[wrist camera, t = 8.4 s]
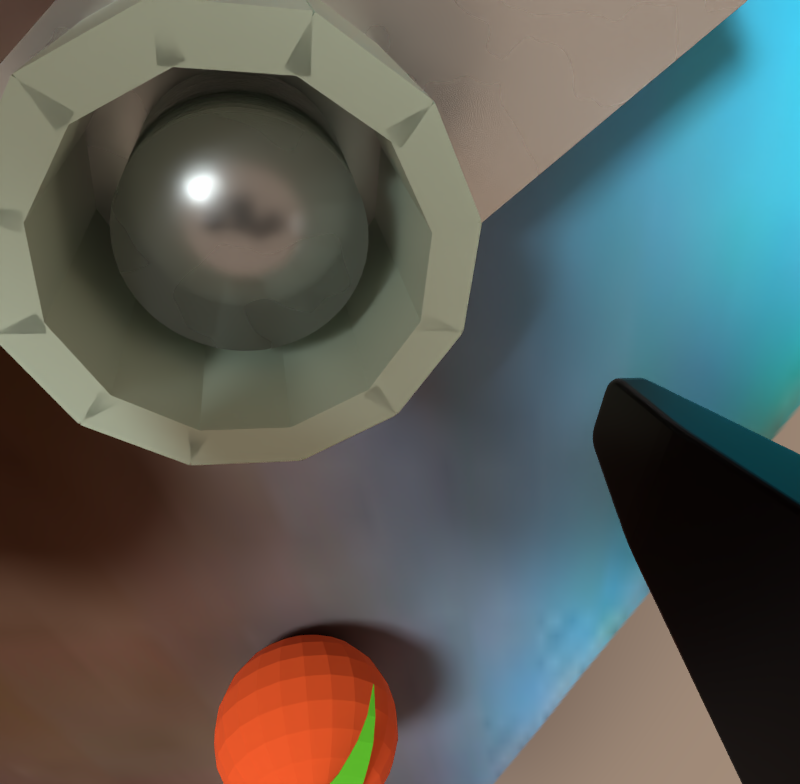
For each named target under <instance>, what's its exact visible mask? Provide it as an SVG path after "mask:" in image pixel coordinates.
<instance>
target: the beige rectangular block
mask: <svg viewBox="0 0 800 784" xmlns="http://www.w3.org/2000/svg"><path fill="white" fill-rule="evenodd" d="M114 1H116V0H55V1H54V2H53V4H52V5H51V6H50V7H49V8H48V9H47V10H46V12H45V13H44V14H43V15H42V16H41V17H40V19H39V20H38V21H37V22H36V23H35V24H34V25H33V27H32V28H31V29H30V30H29V31H28V32H27V34H26V35H25V36H24V37H23V38H22V39H21V40H20V42H19V43H18V44H17V45H16V46H15V47H14V48H13V50H12V51H11V52H10V53H9V54H8V55H7V57H6V58H5V59H4V60H3V61H2V62H1V63H0V101H1V98H2V96H3V93H4V91H5V88H6V86H7V84H8V81H9V79H10V76H11V75H12V74H13V73H14V72H15V71H16V70H18V69H19V68H20V67H22V66H23V65H24V64H25V63H27V62H28V61H29V60H31V59H32V58H33V57H35V56H36V55H37V54H38V53H40V52H41V51H42V50H44V49H45V48H46V47H48V46H49V45H50V44H51V43H53V42H54V41H55V40H57V39H58V38H59V37H61V36H62V35H63V34H64V33H66V32H67V31H68V30H70V29H71V28H72V27H74V26H75V25H76V24H77V23H79V22H80V21H81V20H83V19H85V18H86V17H88V16H90V15H92V14H93V13H95V12H97V11H99V10H100V9H102V8H104V7H106V6H107V5H109V4H111V3H113V2H114ZM321 1H322V2H323V3H325V4H326V5H327V6H329V7H330V8H331V9H333V10H334V11H335V12H336V13H338V14H339V15H340V16H342V17H343V18H344V19H346V20H347V21H348V22H350V23H351V24H352V25H353V26H355V27H356V28H357V29H359V30H360V31H361V32H363V33H364V34H365V35H367V36H368V37H369V38H370V39H372V40H373V41H374V42H376V43H377V44H378V45H379V46H380V47H381V48H382V49H383V50H384V51H385V52H386V53H387V54H388V55H389V56H390V57H391V58H392V59H393V60H394V61H395V62H396V63H397V64H398V65H399V66H400V67H401V68H402V69H403V70H404V71H405V72H406V73H407V74H408V75H409V76H410V77H411V78H412V79H413V80H414V82H415V83H416V84H417V85H418V86H419V87H420V88H421V89H422V90H423V91H424V92H425V93H426V94H427V95H428V96H429V97H430V98H431V99H432V100H433V101H434V102H435V104H436V106H437V109H438V111H439V114H440V116H441V119H442V121H443V124H444V126H445V129H446V131H447V134H448V137H449V139H450V142H451V144H452V147H453V149H454V152H455V154H456V157H457V159H458V162H459V164H460V167H461V170H462V172H463V175H464V177H465V180H466V182H467V185H468V187H469V190H470V192H471V195H472V197H473V200H474V202H475V205H476V208H477V210H478V213H479V215H480V218H481V220H482V221H481V222H483V221H484V220H486V219H487V218H488V217H489V216H490V215H492V214H493V213H494V212H495V211H496V210H498V209H499V208H500V207H501V206H502V205H504V204H505V203H506V202H507V201H508V200H510V199H511V198H512V197H513V196H514V195H516V194H517V193H518V192H519V191H520V190H522V189H523V188H524V187H525V186H526V185H528V184H529V183H530V182H531V181H532V180H533V179H535V178H536V177H537V176H538V175H539V174H541V173H542V172H543V171H544V170H545V169H547V168H548V167H549V166H550V165H551V164H553V163H554V162H555V161H556V160H557V159H559V158H560V157H561V156H562V155H563V154H565V153H566V152H567V151H568V150H569V149H571V148H572V147H573V146H574V145H575V144H577V143H578V142H579V141H580V140H581V139H582V138H584V137H585V136H586V135H587V134H588V133H590V132H591V131H592V130H593V129H594V128H596V127H597V126H598V125H599V124H600V123H602V122H603V121H604V120H605V119H606V118H608V117H609V116H610V115H611V114H612V113H614V112H615V111H616V110H617V109H618V108H620V107H621V106H622V105H623V104H624V103H626V102H627V101H628V100H629V99H630V98H631V97H633V96H634V95H635V94H636V93H637V92H639V91H640V90H641V89H642V88H643V87H645V86H646V85H647V84H648V83H649V82H651V81H652V80H653V79H654V78H655V77H657V76H658V75H659V74H660V73H661V72H663V71H664V70H665V69H666V68H667V67H669V66H670V65H671V64H672V63H673V62H675V61H676V60H677V59H678V58H679V57H680V56H682V55H683V54H684V53H685V52H686V51H688V50H689V49H690V48H691V47H692V46H694V45H695V44H696V43H697V42H698V41H700V40H701V39H702V38H703V37H704V36H706V35H707V34H708V33H709V32H710V31H712V30H713V29H714V28H715V27H716V26H718V25H719V24H720V23H721V22H722V21H724V20H725V19H726V18H727V17H728V16H729V15H731V14H732V13H733V12H734V11H735V10H737V9H738V8H739V7H740V6H741V5H743V4H744V3H745V2H746V1H747V0H321ZM85 134H86V141H87V148H88V155H89V162H90V169H91V176H92V183H93V190H94V197H95V203H96V209H97V210H98V212H99V213H100V214H101V215H102V217H103V218H104V219H105V221H106V222H107V223H108V225H109V226H110V237H111V244H112V249H113V254H114V258H115V260H116V263H117V266H118V269H119V271H120V273H121V275H122V277H123V279H124V281H125V283H126V285H127V287H128V288H129V289H130V291H131V292H132V294H133V295H134V297H135V298H136V299H137V300H138V302H139V303H140V304H141V305H142V306H143V307H144V308H145V309H146V310H147V311H148V312H149V313H150V314H151V315H152V316H153V317H154V318H156V319H157V320H158V321H159V322H160V323H162V324H163V325H165V326H166V327H168V328H169V329H171V330H172V331H174V332H176V333H178V334H180V335H182V336H184V337H185V338H188V339H190V340H193V341H195V342H198V343H200V344H204V345H207V346H211V347H215V348H220V349H227V350H237V351H254V350H265V349H270V348H276V347H280V346H283V345H286V344H290V343H293V342H295V341H297V340H300V339H302V338H304V337H306V336H308V335H310V334H311V333H313V332H315V331H317V330H318V329H319V328H321V327H322V326H323V325H325V324H326V323H327V322H329V321H330V320H331V319H332V318H333V317H334V316H335V315H336V314H337V313H338V312H339V311H340V310H341V309H342V308H343V306H344V305H345V304H346V303H347V301H348V300H349V299H350V297H351V295H352V294H353V292H354V290H355V289H356V287H357V285H358V282H359V280H360V278H361V276H362V273H363V269H364V266H365V262H366V258H367V251H368V226H369V225H370V223H371V222H372V220H373V219H374V217H375V209H376V197H377V185H378V173H379V160H380V148H381V145H380V143H379V141H378V139H377V136H376V134H375V132H374V130H373V129H372V128H371V127H369V126H368V125H367V124H365V123H364V122H362V121H361V120H359V119H358V118H356V117H355V116H354V115H352V114H351V113H349V112H348V111H346V110H345V109H343V108H342V107H341V106H339V105H338V104H336V103H335V102H333V101H332V100H331V99H329V98H328V97H326V96H325V95H323V94H322V93H320V92H319V91H318V90H316V89H315V88H313V87H312V86H310V85H309V84H307V83H306V82H305V81H303V80H302V79H300V78H299V77H297V76H293V75H279V74H265V73H251V72H236V71H222V70H208V69H194V68H180V67H172V68H170V69H168V70H167V71H165V72H163V73H161V74H159V75H157V76H156V77H154V78H152V79H150V80H148V81H147V82H145V83H143V84H141V85H139V86H138V87H136V88H134V89H132V90H130V91H128V92H127V93H125V94H123V95H121V96H119V97H118V98H116V99H114V100H112V101H110V102H108V103H107V104H105V105H103V106H101V107H99V108H98V109H96V110H94V112H93V114H92V116H91V118H90V121H89V123H88V125H87V127H86V129H85Z"/></svg>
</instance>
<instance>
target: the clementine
mask: <svg viewBox="0 0 800 784" xmlns="http://www.w3.org/2000/svg"><path fill="white" fill-rule="evenodd" d="M397 741H398V730H397V715H396V708H395V703H394V700H393V697H392V694H391V691H390V688H389V686H388V683H387V682H386V680H385V679H384V677H383V676H382V674H381V673H380V672H379V670H378V669H377V668H376V666H375V665H374V663H373V662H372V661H371V659H370V658H369V657H368V656H366V655H365V654H363V653H362V652H360V651H359V650H358V649H356V648H355V647H353V646H352V645H350V644H348V643H347V642H345V641H343V640H340V639H337V638H334V637H330V636H323V635H299V636H294V637H290V638H286V639H283V640H281V641H278V642H276V643H273V644H271V645H269V646H267V647H265V648H264V649H262V650H261V651H259V652H257V653H256V654H255V655H254V656H253V657H252V658H251V659H250V660H249V661H248V662H247V663H246V664H245V665H244V666H243V668H242V669H241V670H240V671H239V672H238V673H237V674H236V675H235V676H234V678H233V680H232V682H231V684H230V686H229V688H228V690H227V692H226V694H225V696H224V698H223V700H222V702H221V704H220V706H219V710H218V716H217V722H216V728H215V739H214V747H215V756H216V764H217V769H218V771H219V774H220V776H221V778H222V781H223V783H224V784H384V782H385V781H386V779H387V777H388V775H389V773H390V770H391V767H392V764H393V760H394V755H395V750H396V746H397Z"/></svg>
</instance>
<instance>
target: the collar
mask: <svg viewBox="0 0 800 784" xmlns="http://www.w3.org/2000/svg"><path fill="white" fill-rule="evenodd" d="M172 67H180V68H194V69H208V70H222V71H236V72H251V73H265V74H279V75H293V76H297V77H299V78H300V79H302V80H303V81H305V82H306V83H307V84H309V85H310V86H312V87H313V88H315V89H316V90H318V91H319V92H320V93H322V94H323V95H325V96H326V97H328V98H329V99H331V100H332V101H333V102H335V103H336V104H338V105H339V106H341V107H342V108H343V109H345V110H346V111H348V112H349V113H351V114H352V115H354V116H355V117H356V118H358V119H359V120H361V121H362V122H364V123H365V124H367V125H368V126H369V127H371V128H372V129H373V130H374V132H375V134H376V136H377V139H378V141H379V143H380V145H381V148H380V160H379V173H378V185H377V197H376V209H375V217H374V219H373V220H372V222H371V223H370V225H369V226H368V251H367V258H366V262H365V266H364V269H363V273H362V276H361V278H360V280H359V282H358V285H357V287H356V289H355V290H354V292H353V294H352V295H351V297H350V299H349V300H348V301H347V303H346V304H345V305H344V306H343V308H342V309H341V310H340V311H339V312H338V313H337V314H336V315H335V316H334V317H333V318H332V319H331V320H330V321H329V322H327V323H326V324H325V325H323V326H322V327H321V328H319V329H318V330H317V331H315V332H313V333H311V334H310V335H308V336H306V337H304V338H302V339H300V340H297V341H295V342H293V343H290V344H286V345H283V346H280V347H276V348H270V349H265V350H254V351H237V350H227V349H220V348H215V347H211V346H207V345H204V344H200V343H198V342H195V341H193V340H190V339H188V338H185V337H184V336H182V335H180V334H178V333H176V332H174V331H172V330H171V329H169V328H168V327H166V326H165V325H163V324H162V323H160V322H159V321H158V320H157V319H156V318H154V317H153V316H152V315H151V314H150V313H149V312H148V311H147V310H146V309H145V308H144V307H143V306H142V305H141V304H140V303H139V302H138V300H137V299H136V298H135V297H134V295H133V294H132V292H131V291H130V289H129V288H128V287H127V285H126V283H125V281H124V279H123V277H122V275H121V273H120V271H119V269H118V266H117V263H116V260H115V258H114V254H113V249H112V244H111V237H110V226H109V225H108V223H107V222H106V221H105V219H104V218H103V217H102V215H101V214H100V213H99V212H98V210H97V209H96V203H95V197H94V190H93V183H92V176H91V169H90V162H89V155H88V148H87V141H86V134H85V129H86V127H87V125H88V123H89V121H90V118H91V116H92V114H93V112H94V110H96V109H98V108H99V107H101V106H103V105H105V104H107V103H108V102H110V101H112V100H114V99H116V98H118V97H119V96H121V95H123V94H125V93H127V92H128V91H130V90H132V89H134V88H136V87H138V86H139V85H141V84H143V83H145V82H147V81H148V80H150V79H152V78H154V77H156V76H157V75H159V74H161V73H163V72H165V71H167V70H168V69H170V68H172ZM481 221H482V220H481V218H480V215H479V213H478V210H477V208H476V205H475V202H474V200H473V197H472V195H471V192H470V190H469V187H468V185H467V182H466V180H465V177H464V175H463V172H462V170H461V167H460V164H459V162H458V159H457V157H456V154H455V152H454V149H453V147H452V144H451V142H450V139H449V137H448V134H447V131H446V129H445V126H444V124H443V121H442V119H441V116H440V114H439V111H438V109H437V106H436V104H435V102H434V101H433V100H432V99H431V98H430V97H429V96H428V95H427V94H426V93H425V92H424V91H423V90H422V89H421V88H420V87H419V86H418V85H417V84H416V83H415V82H414V80H413V79H412V78H411V77H410V76H409V75H408V74H407V73H406V72H405V71H404V70H403V69H402V68H401V67H400V66H399V65H398V64H397V63H396V62H395V61H394V60H393V59H392V58H391V57H390V56H389V55H388V54H387V53H386V52H385V51H384V50H383V49H382V48H381V47H380V46H379V45H378V44H377V43H376V42H374V41H373V40H372V39H370V38H369V37H368V36H367V35H365V34H364V33H363V32H361V31H360V30H359V29H357V28H356V27H355V26H353V25H352V24H351V23H350V22H348V21H347V20H346V19H344V18H343V17H342V16H340V15H339V14H338V13H336V12H335V11H334V10H333V9H331V8H330V7H329V6H327V5H326V4H325V3H323V2H322V1H321V0H116V1H114V2H113V3H111V4H109V5H107V6H106V7H104V8H102V9H100V10H99V11H97V12H95V13H93V14H92V15H90V16H88V17H86V18H85V19H83V20H81V21H80V22H79V23H77V24H76V25H75V26H74V27H72V28H71V29H70V30H68V31H67V32H66V33H64V34H63V35H62V36H61V37H59V38H58V39H57V40H55V41H54V42H53V43H51V44H50V45H49V46H48V47H46V48H45V49H44V50H42V51H41V52H40V53H38V54H37V55H36V56H35V57H33V58H32V59H31V60H29V61H28V62H27V63H25V64H24V65H23V66H22V67H20V68H19V69H18V70H16V71H15V72H14V73H13V74H12V75H11V76H10V79H9V81H8V84H7V86H6V88H5V91H4V93H3V96H2V98H1V101H0V345H1V346H2V347H3V348H4V349H5V350H6V351H7V352H8V353H9V354H10V355H11V356H12V357H13V358H14V359H15V360H16V362H17V363H18V364H19V365H20V366H21V367H22V368H23V369H24V370H25V371H26V372H27V373H28V374H29V375H30V376H31V377H32V378H33V379H34V380H35V381H36V382H37V383H38V384H39V385H40V386H41V387H42V388H43V389H44V390H45V391H46V392H47V393H48V394H49V395H50V396H51V397H52V398H53V399H54V400H55V401H56V402H57V403H58V404H59V405H60V406H61V407H62V408H63V409H64V410H65V411H66V412H67V413H68V414H69V415H70V416H71V417H72V418H73V419H74V420H75V421H76V422H77V423H78V424H79V423H80V425H82V426H84V427H87V428H90V429H93V430H95V431H98V432H101V433H103V434H106V435H109V436H112V437H114V438H117V439H120V440H122V441H125V442H128V443H131V444H133V445H136V446H139V447H141V448H144V449H147V450H150V451H152V452H155V453H158V454H160V455H163V456H166V457H169V458H171V459H174V460H177V461H179V462H182V463H185V464H188V465H190V463H191V465H213V464H236V463H258V462H281V461H300V458H301V459H302V460H304V459H306V458H308V457H310V456H312V455H314V454H316V453H318V452H320V451H322V450H324V449H327V448H329V447H331V446H333V445H335V444H337V443H339V442H341V441H343V440H345V439H347V438H349V437H352V436H354V435H356V434H358V433H360V432H362V431H364V430H366V429H368V428H370V427H372V426H374V425H377V424H379V423H381V422H383V421H385V420H387V419H389V418H391V417H393V416H395V415H396V413H397V414H398V413H399V412H400V410H401V409H402V408H403V407H404V405H405V404H406V403H407V402H408V400H409V399H410V398H411V397H412V395H413V394H414V393H415V392H416V390H417V389H418V388H419V387H420V385H421V384H422V383H423V382H424V380H425V379H426V378H427V377H428V375H429V374H430V373H431V372H432V371H433V369H434V368H435V367H436V366H437V364H438V363H439V362H440V361H441V359H442V358H443V357H444V356H445V354H446V353H447V352H448V351H449V349H450V348H451V347H452V346H453V344H454V343H455V342H456V341H457V339H458V338H459V337H460V336H461V334H462V331H463V330H464V324H465V319H466V313H467V307H468V301H469V295H470V290H471V284H472V278H473V272H474V266H475V260H476V255H477V249H478V243H479V237H480V231H481V225H482V222H481Z"/></svg>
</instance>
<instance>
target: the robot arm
mask: <svg viewBox="0 0 800 784" xmlns="http://www.w3.org/2000/svg"><path fill="white" fill-rule="evenodd" d="M593 444H594V448H595V452H596V454H597V457H598V460H599V463H600V466H601V469H602V472H603V475H604V477H605V480H606V483H607V486H608V489H609V492H610V495H611V497H612V500H613V503H614V506H615V509H616V512H617V515H618V518H619V520H620V523H621V526H622V529H623V532H624V534H625V537H626V539H627V542H628V544H629V547H630V549H631V551H632V553H633V556H634V558H635V560H636V562H637V564H638V567H639V569H640V571H641V573H642V575H643V577H644V579H645V581H646V583H647V585H648V587H649V590H650V592H651V594H652V596H653V598H654V600H655V602H656V604H657V606H658V608H659V611H660V613H661V615H662V617H663V619H664V621H665V623H666V625H667V627H668V629H669V631H670V634H671V636H672V638H673V640H674V642H675V644H676V646H677V648H678V650H679V652H680V654H681V656H682V659H683V660H684V663H685V665H686V667H687V669H688V671H689V673H690V675H691V678H692V679H693V682H694V684H695V686H696V688H697V690H698V692H699V694H700V696H701V698H702V701H703V703H704V705H705V707H706V709H707V711H708V713H709V715H710V717H711V719H712V721H713V724H714V726H715V728H716V730H717V732H718V734H719V736H720V738H721V740H722V742H723V744H724V747H725V749H726V751H727V753H728V755H729V757H730V759H731V761H732V763H733V765H734V767H735V770H736V771H737V774H738V776H739V778H740V780H741V782H742V784H800V454H798V453H796V452H794V451H792V450H790V449H788V448H786V447H783V446H781V445H779V444H777V443H775V442H773V441H771V440H769V439H767V438H765V437H763V436H761V435H759V434H757V433H755V432H753V431H751V430H749V429H747V428H745V427H743V426H741V425H738V424H736V423H734V422H732V421H730V420H728V419H726V418H724V417H722V416H720V415H718V414H716V413H714V412H712V411H710V410H708V409H706V408H704V407H702V406H700V405H698V404H696V403H693V402H691V401H689V400H687V399H685V398H683V397H681V396H679V395H677V394H675V393H673V392H671V391H669V390H667V389H665V388H663V387H661V386H659V385H657V384H655V383H653V382H651V381H648V380H646V379H643V378H618V379H614V380H613V381H611V382H610V383H609V385H608V386H607V389H606V391H605V395H604V398H603V401H602V404H601V407H600V410H599V414H598V417H597V420H596V423H595V426H594V431H593Z"/></svg>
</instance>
